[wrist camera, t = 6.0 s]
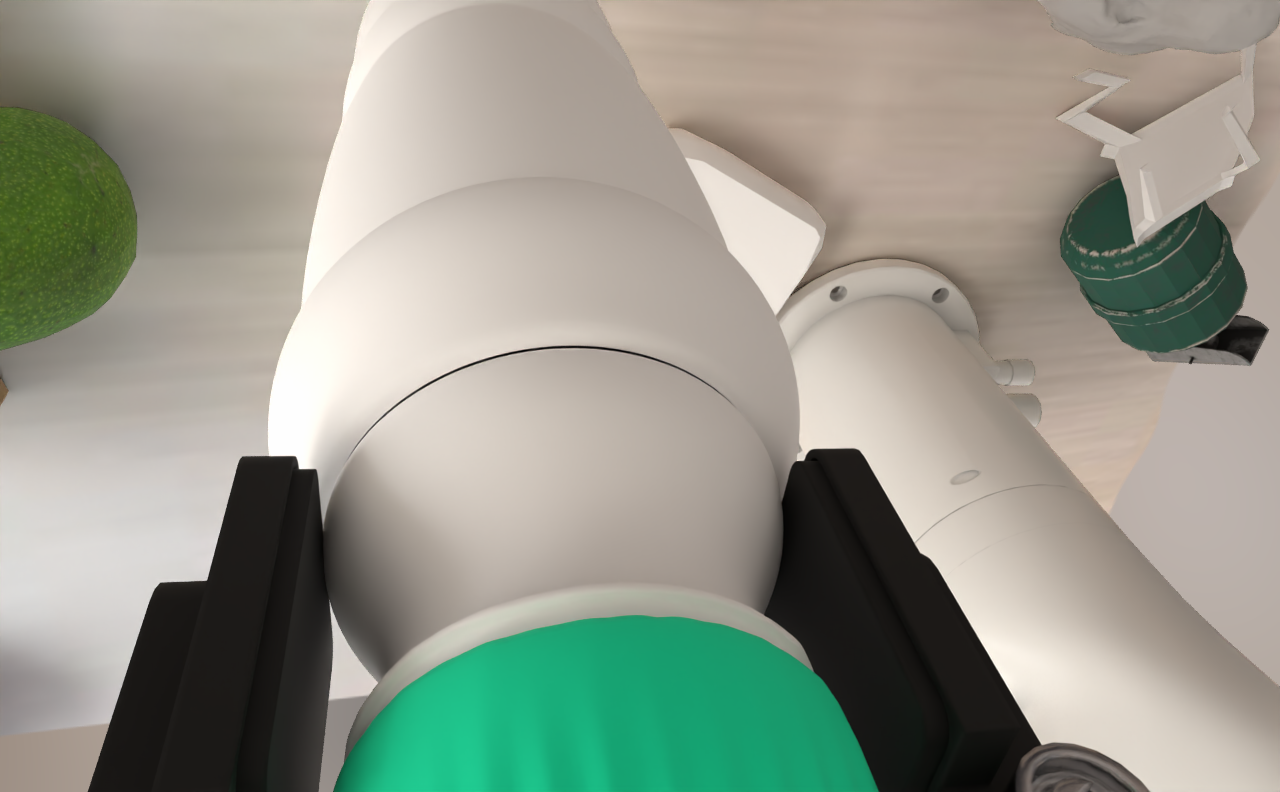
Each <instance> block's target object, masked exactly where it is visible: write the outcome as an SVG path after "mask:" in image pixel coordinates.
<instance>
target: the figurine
mask: <svg viewBox="0 0 1280 792" xmlns="http://www.w3.org/2000/svg"><path fill="white" fill-rule="evenodd" d="M1037 1H1038V2H1039V3H1040V4H1041V5H1042V6H1043V7H1044V8H1045V9H1046V10H1047V14H1048V15H1049V17H1050V19H1051V20H1052V22H1053V23H1052V24H1051V26H1052V27H1053V28H1054V29H1056V30H1057V31H1059V32H1060V33H1063V34H1065V35H1068V36H1074V37H1077V38H1080V39H1083V40H1085V41H1086V42H1088V43H1089V44H1091V45H1093V46H1094V47H1096V48H1099V49H1100V50H1103V51H1107V52H1111V53H1115V54H1122V55H1136V54H1143V53H1150V52H1154V51H1159V50H1163V49H1166V48H1174V49H1179V50H1192V51H1197V52H1203V53H1209V54H1223V53H1230V52H1236V51H1240V50H1242V49H1245V48H1247V47H1249V46H1251V45H1253V44H1255V43H1257V42H1259V41H1261V40H1262V39H1264V38H1266V37H1268V36H1269V35H1270V34H1271V33H1273V31H1274V30H1275V29H1276V28H1277V26H1278V24H1279V19H1280V0H1037Z"/></svg>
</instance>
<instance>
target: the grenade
mask: <svg viewBox="0 0 1280 792" xmlns="http://www.w3.org/2000/svg"><path fill="white" fill-rule="evenodd" d="M1060 248H1061V257H1062V258H1063V260H1064V261H1065V262H1066V264H1067V265H1068V267H1069V268H1070V270H1071V271H1072V272H1073V274H1074V275H1075V277H1076V278H1077V279H1078V281H1079V282H1080V291H1081V292H1082V294H1083V295H1084V297H1085V298H1086V300H1087V301H1088V303H1089V304H1090V305H1091V307H1092V308H1093V310H1094V311H1095V312H1096V314H1097V315H1099V316H1101V317H1103V318H1105V319H1106V320H1107V321H1108V322H1109V324H1110V325H1111V327H1112V328H1113V329H1114V331H1115V332H1116V334H1117V335H1118V336H1119V338H1120V339H1121V340H1122V341H1123V342H1124V343H1126V344H1128V345H1130V346H1131V347H1133V348H1135V349H1137V350H1140V351H1146V353H1147V354H1148V356H1149V357H1150V358H1151V359H1152V360H1153V361H1158V362H1180V363H1189V364H1192V363H1204V364H1225V365H1247V366H1250V365H1251V364H1252V363H1253V361H1254V359H1255V357H1256V355H1257V353H1258V351H1259V349H1260V347H1261V345H1262V343H1263V341H1264V339H1265V337H1266V335H1267V333H1268V331H1269V329H1268V328H1267V327H1266V326H1265V325H1264V324H1262V323H1261V322H1259V321H1257V320H1255V319H1253V318H1251V317H1248V316H1240V315H1236V314H1237V313H1238V312H1239V311H1240V309H1241V308H1242V306H1243V302H1244V298H1245V295H1246V292H1247V283H1246V278H1245V273H1244V270H1243V268H1242V267H1241V265H1240V263H1239V261H1238V259H1237V258H1236V256H1235V254H1234V252H1233V247H1232V242H1231V237H1230V234H1229V232H1228V230H1227V228H1226V227H1225V225H1224V223H1223V222H1222V221H1221V220H1220V219H1219V218H1218V217H1217V216H1216V215H1215V214H1214V213H1213V212H1212V211H1211V210H1210V209H1209V207H1208V205H1207V203H1206V202H1205V200H1204V201H1203V202H1201V203H1199V204H1198V205H1196V206H1195V207H1193V208H1192V209H1190V210H1189V211H1187V212H1185V213H1184V214H1182V215H1181V216H1179V217H1178V218H1176V219H1174V220H1173V221H1171V222H1170V223H1168V224H1167V225H1165V226H1163V227H1162V228H1160V229H1159V230H1157V231H1156V232H1154V233H1153V234H1151V235H1149V236H1148V237H1146V238H1145V239H1144V240H1143V241H1142V242H1141V243H1140V245H1139V246H1138V247H1137V246H1136V243H1135V241H1134V237H1133V232H1132V227H1131V222H1130V216H1129V209H1128V202H1127V196H1126V193H1125V190H1124V187H1123V184H1122V181H1121V178H1120V175H1118V176H1116V177H1114V178H1112V179H1110V180H1108V181H1106V182H1104V183H1102V184H1100V185H1098V186H1097V187H1096V188H1094V189H1093V190H1092V191H1091V192H1089V193H1088V194H1087V195H1086V196H1085V197H1083V198H1082V199H1081V200H1080V201H1079V203H1078V204H1077V205H1076V207H1075V208H1074V209H1073V210H1072V212H1071V213H1070V214H1069V216H1068V218H1067V221H1066V223H1065V226H1064V229H1063V231H1062V234H1061V238H1060Z"/></svg>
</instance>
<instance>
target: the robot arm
mask: <svg viewBox="0 0 1280 792" xmlns="http://www.w3.org/2000/svg"><path fill="white" fill-rule="evenodd" d="M776 318H777V320H778V323H779V325H780V327H781V330H782V332H783V334H784V337H785V339H786V342H787V345H788V348H789V351H790V355H791V358H792V362H793V366H794V370H795V375H796V380H797V387H798V394H799V407H800V433H799V446H798V454H797V460H799V461H796V462H794V463H793V465H792V467H791V469H790V473H789V476H788V480H787V484H786V488H785V492H784V495H783V499H782V510H783V529H784V531H783V549H782V557H781V562H780V568H779V572H778V576H777V580H776V583H775V587H774V590H773V593H772V595H771V598H770V601H769V603H768V606H767V608H766V611H765V613H764V616H766V617H768V618H769V619H771V620H772V621H774V622H775V623H777V624H778V625H780V626H781V627H782V628H783V629H785V630H786V631H787V632H788V633H789V634H791V635H792V636H793V637H794V638H795V639H797V641H798V642H799V643H800V644H801V645H802V647H803V649H804V651H805V653H806V655H807V657H808V659H809V661H810V663H811V666H812V668H813V671H814V673H815V674H816V675H818V676H819V677H820V678H821V679H822V680H823V681H824V683H825V684H826V685H827V687H828V688H829V690H830V691H831V693H832V694H833V696H834V697H835V699H836V700H837V701H838V703H839V705H840V707H841V709H842V711H843V713H844V715H845V717H846V719H847V721H848V723H849V725H850V727H851V729H852V731H853V733H854V735H855V737H856V739H857V741H858V743H859V745H860V747H861V749H862V752H863V754H864V757H865V759H866V762H867V764H868V766H869V769H870V771H871V774H872V776H873V779H874V781H875V783H876V786H877V788H878V791H879V792H1280V686H1278V684H1276V683H1275V682H1274V681H1273V680H1272V679H1271V678H1270V677H1268V676H1267V675H1266V674H1265V673H1264V672H1263V671H1261V670H1260V669H1259V668H1258V667H1257V666H1256V665H1254V664H1253V663H1252V662H1251V661H1250V660H1249V659H1248V658H1247V657H1245V656H1244V655H1243V654H1242V653H1241V652H1240V651H1239V650H1238V649H1236V648H1235V647H1234V646H1233V645H1232V644H1231V643H1230V642H1228V641H1227V640H1226V639H1225V638H1224V637H1223V636H1222V635H1221V634H1220V633H1219V632H1218V631H1217V630H1216V629H1214V628H1213V627H1212V626H1211V625H1210V624H1209V623H1208V622H1207V621H1206V620H1205V619H1204V618H1203V617H1202V616H1201V615H1200V614H1199V613H1198V612H1197V611H1196V610H1194V608H1193V607H1192V606H1190V605H1189V604H1188V603H1187V602H1186V601H1185V600H1184V599H1183V598H1182V597H1181V596H1180V594H1179V593H1178V592H1177V591H1176V590H1175V589H1174V588H1173V587H1172V586H1171V585H1170V584H1169V582H1168V581H1167V580H1166V579H1165V578H1164V577H1163V576H1162V575H1161V574H1160V573H1159V571H1158V570H1157V569H1156V568H1155V567H1154V566H1153V565H1152V564H1151V563H1150V562H1149V560H1148V559H1147V558H1146V557H1145V556H1144V555H1143V554H1142V553H1141V552H1140V551H1139V550H1138V548H1137V547H1136V546H1135V545H1134V544H1133V543H1132V542H1131V541H1130V540H1129V539H1128V537H1127V536H1126V535H1125V534H1124V533H1123V531H1122V530H1121V529H1120V528H1119V527H1118V526H1117V525H1116V523H1115V522H1114V521H1113V520H1112V519H1111V517H1110V516H1109V515H1108V514H1107V513H1106V511H1105V510H1104V509H1103V508H1102V507H1101V505H1099V503H1098V502H1097V501H1096V500H1095V499H1094V497H1093V496H1092V495H1091V494H1090V493H1089V492H1088V490H1087V489H1086V488H1085V487H1084V486H1083V484H1082V483H1081V482H1080V481H1079V480H1078V479H1077V477H1076V476H1075V475H1074V474H1073V473H1072V471H1071V470H1070V469H1069V468H1068V467H1067V466H1066V464H1065V463H1064V462H1063V461H1062V460H1061V458H1060V457H1059V456H1058V455H1057V454H1056V453H1055V451H1054V450H1053V449H1052V448H1051V447H1050V445H1049V444H1048V443H1047V442H1046V441H1045V440H1044V438H1043V437H1042V436H1041V435H1040V434H1039V432H1038V431H1037V430H1036V429H1035V427H1037V425H1038V424H1039V422H1040V420H1041V413H1042V410H1041V404H1040V402H1039V400H1038V398H1037V397H1036V396H1035V395H1033V394H1006V393H1005V392H1004V391H1003V390H1002V389H1001V388H1000V386H999V385H1005V386H1027V385H1030V384H1031V383H1032V382H1033V380H1034V376H1035V368H1034V365H1033V363H1032V362H1031V361H1029V360H1028V359H1006V360H1004V361H994V360H993V359H992V357H990V356H989V355H988V354H987V352H986V351H985V350H984V349H983V348H982V347H981V345H980V344H979V328H978V324H977V319H976V315H975V313H974V311H973V309H972V307H971V305H970V303H969V301H968V300H967V298H966V297H965V296H964V295H963V294H962V292H961V291H960V290H959V289H958V288H957V287H956V286H955V284H954V283H952V282H951V281H950V280H949V279H947V278H946V277H945V276H944V275H943V274H941V273H940V272H938V271H936V270H934V269H932V268H930V267H928V266H926V265H923V264H920V263H916V262H911V261H907V260H902V259H876V260H869V261H863V262H857V263H854V264H850V265H847V266H844V267H841V268H838V269H835V270H833V271H831V272H829V273H827V274H825V275H823V276H821V277H819V278H817V279H815V280H813V281H811V282H810V283H808V284H807V285H806V286H804V287H803V288H801V289H800V290H799V291H797V292H796V293H794V294H793V295H792V296H791V297H790V298H789V299H788V300H787V301H786V302H785V304H784V305H783V307H782V308H781V310H780V311H779V312H778V314H777V315H776ZM332 658H333V638H332V625H331V614H330V603H329V596H328V592H327V587H326V582H325V575H324V558H323V526H322V515H321V503H320V492H319V481H318V473H317V470H316V469H299V465H298V460H297V457H296V456H244V457H242V458H241V459H240V460H239V463H238V466H237V470H236V474H235V477H234V481H233V485H232V489H231V493H230V496H229V500H228V504H227V508H226V511H225V515H224V519H223V523H222V527H221V530H220V534H219V538H218V542H217V545H216V549H215V553H214V557H213V560H212V564H211V568H210V572H209V576H208V579H207V581H191V582H166V583H160V584H159V585H158V586H157V587H156V588H155V590H154V592H153V594H152V597H151V599H150V602H149V605H148V608H147V611H146V614H145V617H144V620H143V623H142V626H141V629H140V632H139V635H138V639H137V642H136V645H135V648H134V651H133V654H132V657H131V660H130V663H129V666H128V669H127V673H126V676H125V679H124V682H123V685H122V688H121V691H120V694H119V697H118V700H117V703H116V706H115V710H114V713H113V716H112V719H111V722H110V725H109V728H108V732H107V734H106V737H105V740H104V743H103V747H102V750H101V753H100V756H99V759H98V762H97V765H96V768H95V772H94V774H93V777H92V781H91V784H90V787H89V790H88V792H318V791H319V782H320V772H321V763H322V754H323V745H324V736H325V727H326V718H327V708H328V699H329V690H330V681H331V672H332Z"/></svg>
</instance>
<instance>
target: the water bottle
mask: <svg viewBox="0 0 1280 792" xmlns="http://www.w3.org/2000/svg"><path fill="white" fill-rule="evenodd" d="M799 433H800V407H799V394H798V387H797V380H796V375H795V370H794V366H793V362H792V358H791V355H790V351H789V348H788V345H787V342H786V339H785V337H784V334H783V332H782V330H781V327H780V325H779V323H778V320H777V318H776V316H775V314H774V312H773V310H772V309H771V307H770V305H769V303H768V302H767V300H766V298H765V296H764V295H763V293H762V292H761V290H760V289H759V287H758V286H757V284H756V283H755V281H754V280H753V279H752V277H751V276H750V275H749V274H748V272H747V271H746V270H745V269H744V267H743V266H742V265H741V264H740V263H739V262H738V260H737V259H736V258H735V257H734V256H733V255H732V254H731V253H730V252H729V251H728V248H727V245H726V243H725V240H724V238H723V235H722V233H721V231H720V228H719V226H718V224H717V221H716V219H715V217H714V214H713V212H712V210H711V208H710V206H709V204H708V202H707V200H706V198H705V196H704V194H703V192H702V190H701V188H700V186H699V184H698V182H697V180H696V178H695V176H694V174H693V172H692V170H691V168H690V166H689V165H688V163H687V161H686V159H685V157H684V155H683V154H682V152H681V150H680V148H679V147H678V145H677V143H676V141H675V140H674V138H673V136H672V135H671V133H670V131H669V130H668V128H667V126H666V125H665V123H664V122H663V120H662V118H661V117H660V115H659V114H658V112H657V111H656V109H655V108H654V106H653V105H652V103H651V102H650V100H649V99H648V97H647V96H646V95H645V93H644V92H643V91H642V89H641V88H640V85H639V82H638V79H637V77H636V74H635V72H634V69H633V67H632V65H631V63H630V61H629V59H628V57H627V55H626V53H625V51H624V50H623V48H622V46H621V45H620V43H619V41H618V40H617V38H616V37H615V36H614V34H613V33H612V30H611V28H610V25H609V23H608V21H607V19H606V17H605V14H604V13H603V11H602V9H601V7H600V5H599V3H598V2H597V0H370V2H369V4H368V6H367V8H366V10H365V12H364V15H363V18H362V21H361V25H360V28H359V32H358V37H357V42H356V48H355V55H354V62H353V65H352V68H351V71H350V75H349V78H348V82H347V86H346V91H345V97H344V104H343V118H342V125H341V127H340V130H339V132H338V135H337V138H336V140H335V144H334V147H333V150H332V153H331V156H330V159H329V163H328V166H327V170H326V174H325V177H324V181H323V185H322V189H321V193H320V197H319V201H318V206H317V210H316V214H315V219H314V223H313V228H312V234H311V239H310V245H309V250H308V256H307V262H306V269H305V277H304V285H303V293H302V305H301V310H300V312H299V314H298V315H297V317H296V319H295V321H294V323H293V325H292V327H291V330H290V332H289V334H288V336H287V339H286V341H285V344H284V347H283V349H282V352H281V355H280V358H279V361H278V365H277V369H276V373H275V377H274V381H273V386H272V391H271V398H270V406H269V416H268V445H269V456H296V457H297V460H298V465H299V469H316V470H317V473H318V481H319V492H320V503H321V515H322V526H323V558H324V575H325V582H326V587H327V592H328V596H329V600H330V603H331V606H332V609H333V612H334V615H335V617H336V620H337V622H338V625H339V627H340V629H341V631H342V633H343V635H344V637H345V639H346V640H347V642H348V644H349V646H350V647H351V649H352V650H353V652H354V653H355V655H356V656H357V658H358V659H359V660H360V662H361V663H362V664H363V665H364V667H365V668H366V669H367V670H368V672H369V673H370V674H371V675H372V676H373V677H374V678H375V680H376V681H377V682H378V684H377V685H376V687H375V688H374V689H373V691H372V692H371V694H370V695H369V696H368V698H367V699H366V701H365V702H364V703H363V705H362V707H361V708H360V710H359V712H358V714H357V716H356V719H355V721H354V723H353V726H352V728H351V731H350V733H349V736H348V739H347V744H346V752H345V759H344V765H343V767H342V769H341V772H340V774H339V776H338V779H337V781H336V785H335V787H334V791H333V792H879V791H878V788H877V786H876V783H875V781H874V779H873V776H872V774H871V771H870V769H869V766H868V764H867V762H866V759H865V757H864V754H863V752H862V749H861V747H860V745H859V743H858V741H857V739H856V737H855V735H854V733H853V731H852V729H851V727H850V725H849V723H848V721H847V719H846V717H845V715H844V713H843V711H842V709H841V707H840V705H839V703H838V701H837V700H836V699H835V697H834V696H833V694H832V693H831V691H830V690H829V688H828V687H827V685H826V684H825V683H824V681H823V680H822V679H821V678H820V677H819V676H818V675H816V674H815V673H814V671H813V668H812V666H811V663H810V661H809V659H808V657H807V655H806V653H805V651H804V649H803V647H802V645H801V644H800V643H799V642H798V641H797V639H795V638H794V637H793V636H792V635H791V634H789V633H788V632H787V631H786V630H785V629H783V628H782V627H781V626H780V625H778V624H777V623H775V622H774V621H772V620H771V619H769V618H768V617H766V616H764V613H765V611H766V608H767V606H768V603H769V601H770V598H771V595H772V593H773V590H774V587H775V583H776V580H777V576H778V572H779V568H780V562H781V557H782V549H783V531H784V529H783V510H782V499H783V495H784V492H785V488H786V484H787V480H788V476H789V473H790V469H791V467H792V465H793V463H794V462H796V461H797V454H798V446H799Z"/></svg>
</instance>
